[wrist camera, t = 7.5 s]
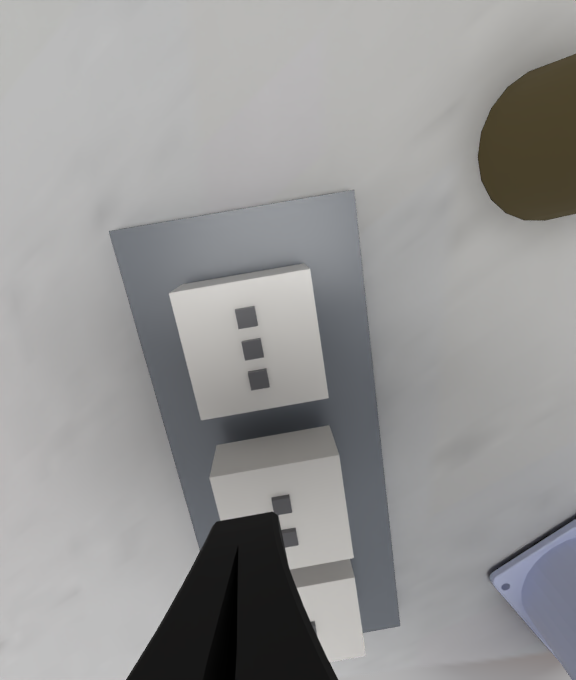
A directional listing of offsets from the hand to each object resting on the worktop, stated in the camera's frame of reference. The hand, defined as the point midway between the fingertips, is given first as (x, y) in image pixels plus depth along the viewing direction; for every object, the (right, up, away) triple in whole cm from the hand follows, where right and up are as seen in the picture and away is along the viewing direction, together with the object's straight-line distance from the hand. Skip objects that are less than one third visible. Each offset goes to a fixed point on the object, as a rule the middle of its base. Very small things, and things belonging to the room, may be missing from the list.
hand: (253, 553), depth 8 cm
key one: (+2, -8, +12) cm, 15 cm away
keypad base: (0, -1, +11) cm, 11 cm away
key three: (-1, +5, +8) cm, 9 cm away
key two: (+1, -2, +9) cm, 9 cm away
